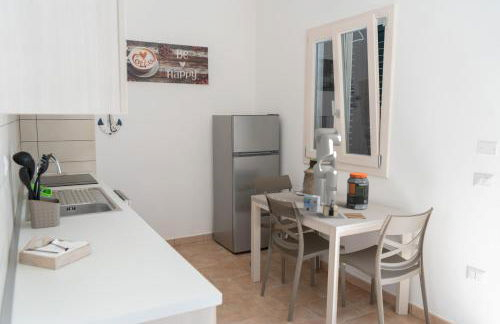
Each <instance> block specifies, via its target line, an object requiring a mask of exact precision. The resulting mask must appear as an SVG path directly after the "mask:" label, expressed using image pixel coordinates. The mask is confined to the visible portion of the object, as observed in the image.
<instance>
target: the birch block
mask: <svg viewBox="0 0 500 324" xmlns="http://www.w3.org/2000/svg"><path fill="white" fill-rule="evenodd" d="M330 207H331V206H330ZM338 211H339V207H338V205H337V204H335V206H334V216H329V206H328V205H327V204H326V205H322V213H323V216H324V217H338V213H339V212H338Z"/></svg>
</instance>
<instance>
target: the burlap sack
mask: <svg viewBox="0 0 500 324" xmlns="http://www.w3.org/2000/svg"><path fill="white" fill-rule="evenodd" d="M309 159H310V160H309V162H308V164H309V165H308V166H309V167H307V169H305V170H303V173H304V175H303V182H302V189H301V190H299V191H296V192H295V194H296V196H298V195H300V196H305V195H307V194H308V195H314V171H313V167H314V165H315V164H317V160H316V158H312V157H309Z"/></svg>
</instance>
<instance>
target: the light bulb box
mask: <svg viewBox="0 0 500 324" xmlns="http://www.w3.org/2000/svg"><path fill="white" fill-rule="evenodd" d="M302 205H303V206H302V210H303V211H309V212H315V213H318V212H319V211H320V210H321V209H320V208H321V205H320V196H316V195H308V194H307V195H303V204H302Z"/></svg>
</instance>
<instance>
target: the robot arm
mask: <svg viewBox="0 0 500 324" xmlns="http://www.w3.org/2000/svg"><path fill="white" fill-rule="evenodd" d="M313 135H314V139H315V144H316V149H315V159H316V160H317V164H315V165H314V167H313V171H314V195H316V196H320V206H323V205H328V206H329V216H334V206H335V205H336V192H337V190H338V189H337V188H338V171H337V161H338V154H337V153H338V152H337V151H336V150H335V149H334V147H339V146H341V144H342V136H341V133H340V131H339V130H338V129H337V128H332V127H330V128H328V127H320V128H319V127H318V128H316V129H314V133H313ZM330 206H331V207H330Z"/></svg>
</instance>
